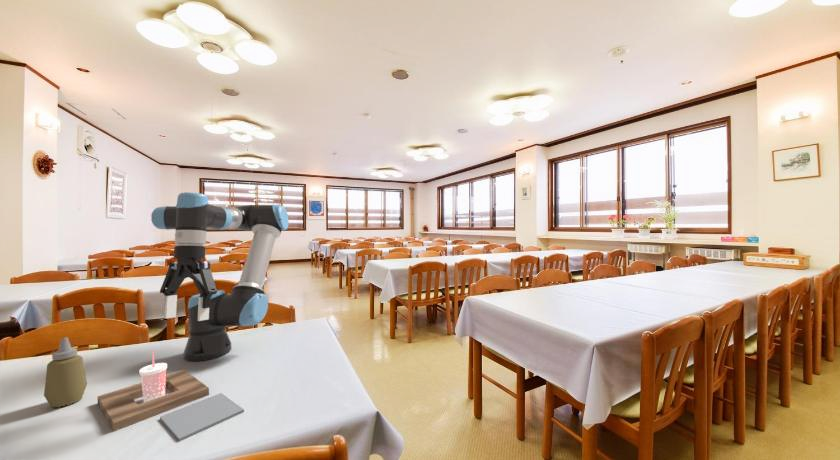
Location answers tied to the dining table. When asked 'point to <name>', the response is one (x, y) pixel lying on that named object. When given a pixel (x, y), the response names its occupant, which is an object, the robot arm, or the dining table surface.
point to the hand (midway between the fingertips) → (186, 319)
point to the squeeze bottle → (65, 376)
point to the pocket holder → (128, 412)
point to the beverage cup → (153, 380)
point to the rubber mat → (200, 416)
